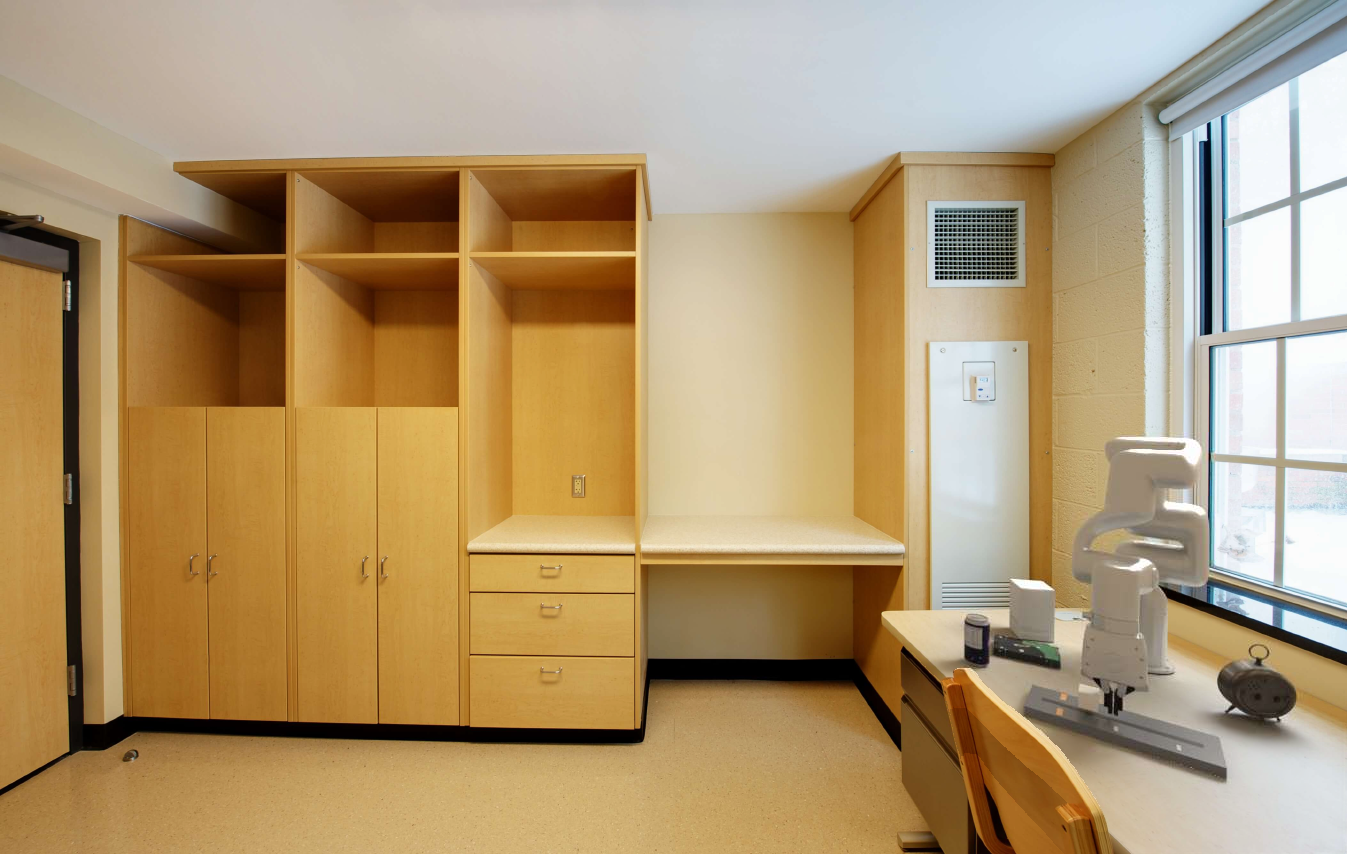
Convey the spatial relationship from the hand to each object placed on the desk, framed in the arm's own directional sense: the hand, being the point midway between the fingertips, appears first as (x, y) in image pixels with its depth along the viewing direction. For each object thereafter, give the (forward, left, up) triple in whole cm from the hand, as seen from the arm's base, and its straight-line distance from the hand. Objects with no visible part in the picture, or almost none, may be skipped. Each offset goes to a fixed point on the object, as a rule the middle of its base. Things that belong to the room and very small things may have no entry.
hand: (1113, 711), depth 107 cm
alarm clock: (-24, +23, -4) cm, 33 cm away
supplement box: (-44, -19, -4) cm, 48 cm away
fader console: (0, 0, -4) cm, 4 cm away
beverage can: (-14, -27, -4) cm, 31 cm away
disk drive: (-28, -19, -4) cm, 34 cm away
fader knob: (0, -4, -1) cm, 4 cm away
